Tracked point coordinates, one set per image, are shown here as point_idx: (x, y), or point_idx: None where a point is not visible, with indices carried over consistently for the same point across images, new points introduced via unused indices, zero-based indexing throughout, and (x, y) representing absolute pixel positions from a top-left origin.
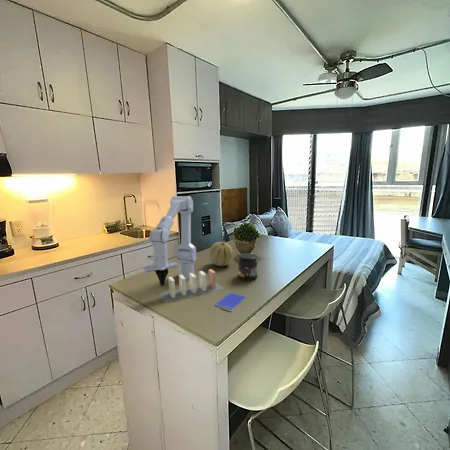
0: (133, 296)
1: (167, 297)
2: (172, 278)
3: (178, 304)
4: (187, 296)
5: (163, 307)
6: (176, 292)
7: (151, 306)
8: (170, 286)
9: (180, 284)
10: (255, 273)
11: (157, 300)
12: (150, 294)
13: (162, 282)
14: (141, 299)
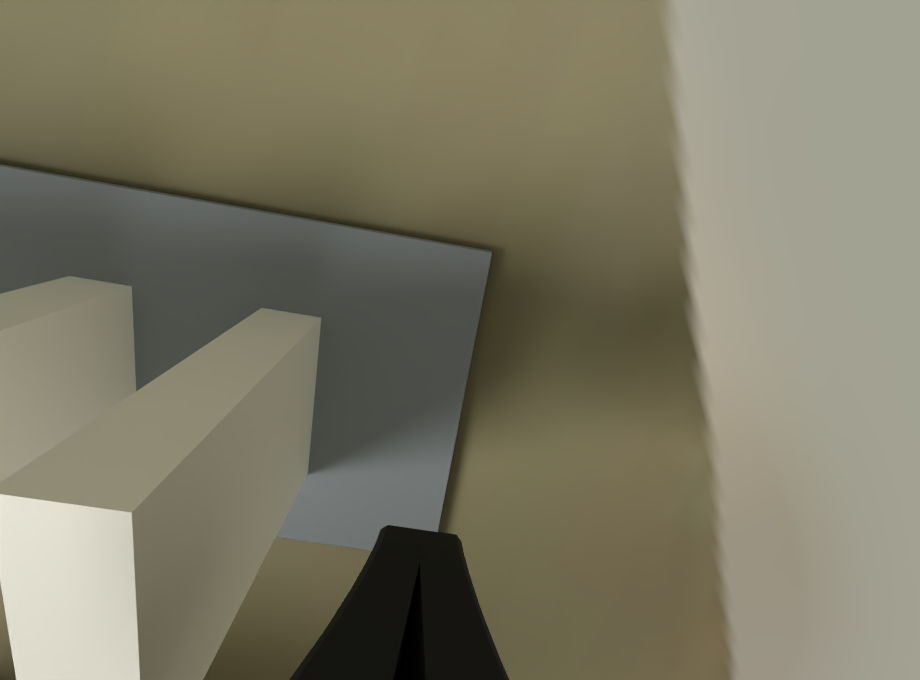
0: (717, 655)
1: (376, 373)
2: (33, 664)
3: (296, 55)
4: (61, 201)
5: (551, 125)
6: None
7: (679, 279)
8: (243, 468)
9: (5, 474)
10: None
11: (527, 396)
12: (530, 595)
13: (423, 602)
14: (683, 541)
